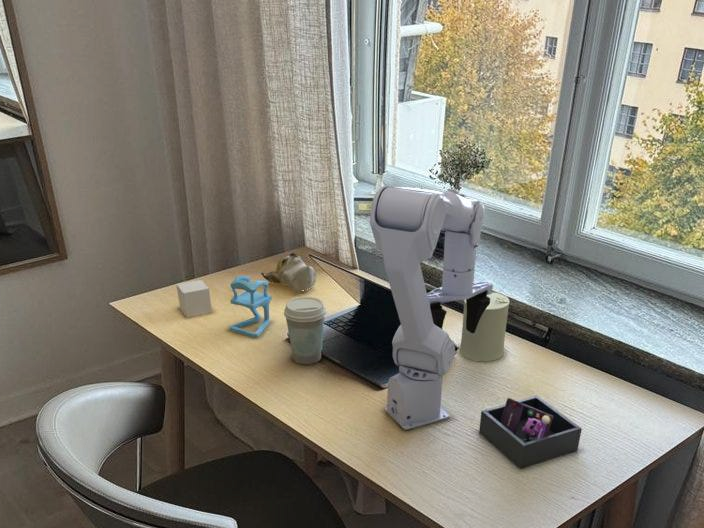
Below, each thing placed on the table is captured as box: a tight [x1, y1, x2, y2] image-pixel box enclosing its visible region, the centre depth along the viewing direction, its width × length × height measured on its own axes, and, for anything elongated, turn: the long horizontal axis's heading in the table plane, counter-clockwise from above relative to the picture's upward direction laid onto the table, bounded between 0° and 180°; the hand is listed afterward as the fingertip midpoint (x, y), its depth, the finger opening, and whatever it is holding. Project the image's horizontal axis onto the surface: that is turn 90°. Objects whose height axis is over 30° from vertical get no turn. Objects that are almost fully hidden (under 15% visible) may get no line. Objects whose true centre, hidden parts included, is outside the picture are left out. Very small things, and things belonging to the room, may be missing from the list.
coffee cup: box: [283, 296, 327, 365], centre depth 159 cm, size 8×8×12 cm
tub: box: [478, 395, 582, 469], centre depth 134 cm, size 12×12×5 cm
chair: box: [228, 275, 273, 339], centre depth 171 cm, size 8×8×12 cm
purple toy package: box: [500, 397, 553, 439], centre depth 134 cm, size 7×5×9 cm
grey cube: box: [176, 279, 213, 319], centre depth 181 cm, size 6×6×6 cm
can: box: [459, 291, 511, 362], centre depth 160 cm, size 9×9×12 cm
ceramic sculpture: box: [260, 252, 317, 294], centre depth 191 cm, size 11×9×15 cm
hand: (453, 335), depth 149 cm, fingers open, 7 cm apart
